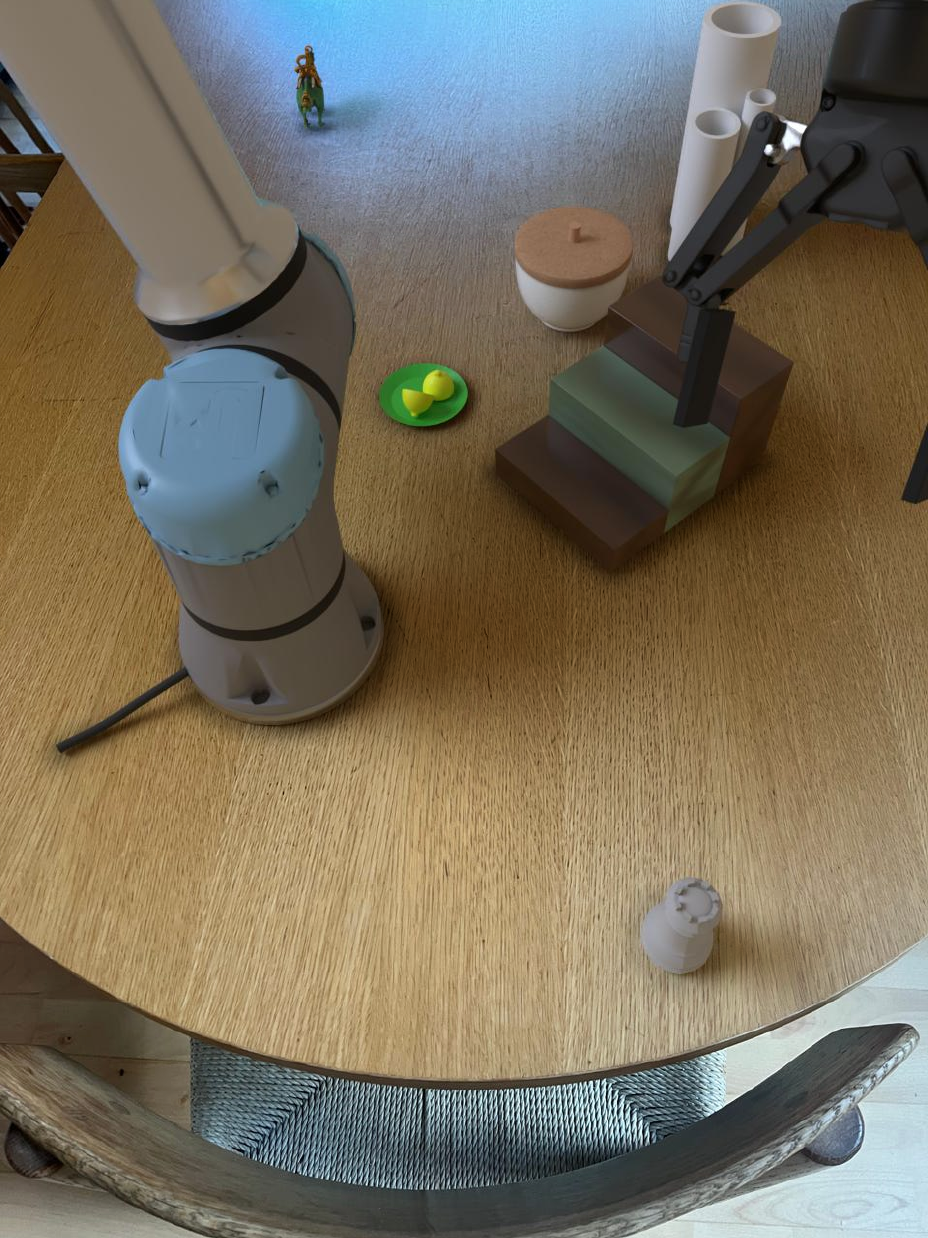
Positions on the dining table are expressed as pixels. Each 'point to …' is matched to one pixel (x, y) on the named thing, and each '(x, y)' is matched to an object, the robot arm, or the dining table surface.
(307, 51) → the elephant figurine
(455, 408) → the green plate with lemons
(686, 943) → the rook chess piece
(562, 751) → the dining table surface
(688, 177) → the vase
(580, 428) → the step shelf
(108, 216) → the robot arm
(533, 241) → the trinket box
